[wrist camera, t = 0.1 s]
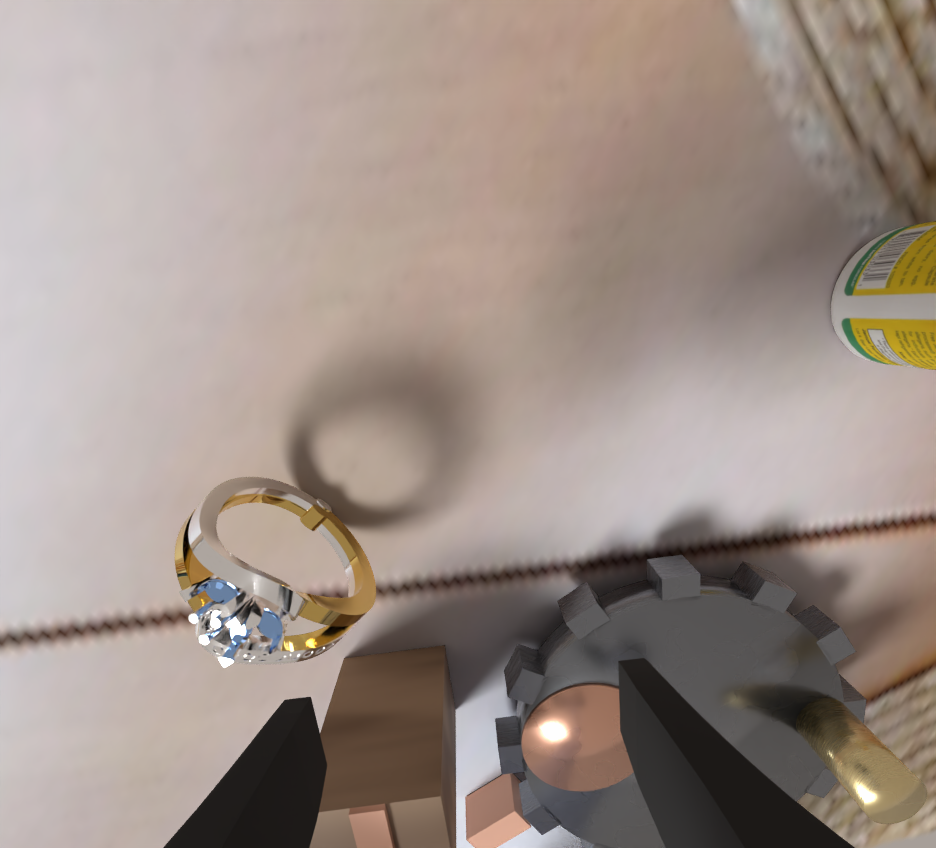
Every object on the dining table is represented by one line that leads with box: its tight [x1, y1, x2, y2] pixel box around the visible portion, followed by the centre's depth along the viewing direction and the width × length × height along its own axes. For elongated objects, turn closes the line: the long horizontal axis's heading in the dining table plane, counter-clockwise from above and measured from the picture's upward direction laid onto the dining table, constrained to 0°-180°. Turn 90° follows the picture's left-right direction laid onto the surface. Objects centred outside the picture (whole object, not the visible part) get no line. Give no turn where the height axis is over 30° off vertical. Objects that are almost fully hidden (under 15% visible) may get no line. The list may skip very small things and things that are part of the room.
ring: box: [175, 477, 376, 667], centre depth 16 cm, size 7×3×8 cm, turn 45°
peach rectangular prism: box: [465, 773, 531, 848], centre depth 23 cm, size 3×1×2 cm, turn 127°
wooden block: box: [309, 645, 456, 848], centre depth 19 cm, size 4×5×7 cm
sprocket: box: [495, 555, 927, 848], centre depth 19 cm, size 17×17×5 cm
